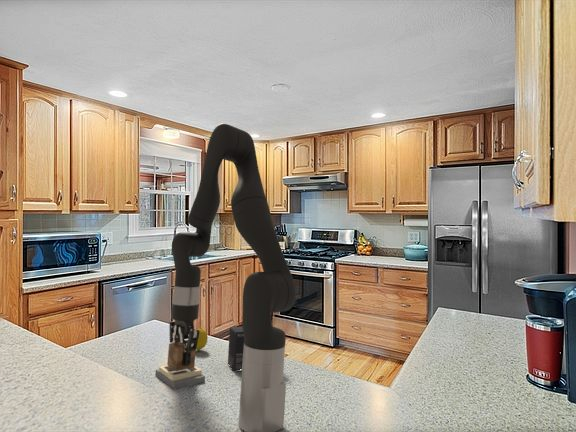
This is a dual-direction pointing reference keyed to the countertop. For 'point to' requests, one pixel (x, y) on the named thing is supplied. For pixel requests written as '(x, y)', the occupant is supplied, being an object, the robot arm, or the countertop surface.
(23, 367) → the countertop surface
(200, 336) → the lemon
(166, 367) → the base board
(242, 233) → the robot arm
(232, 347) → the small box
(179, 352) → the walnut block
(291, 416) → the countertop surface
